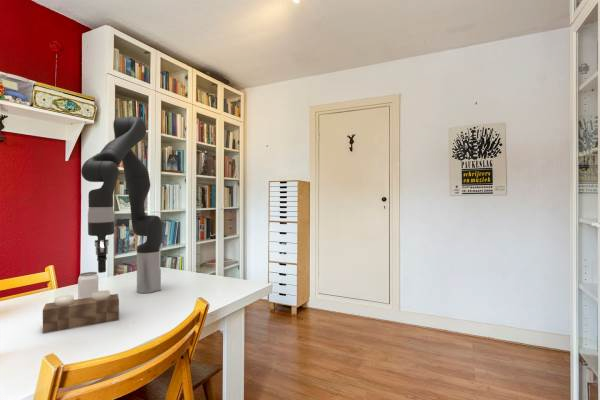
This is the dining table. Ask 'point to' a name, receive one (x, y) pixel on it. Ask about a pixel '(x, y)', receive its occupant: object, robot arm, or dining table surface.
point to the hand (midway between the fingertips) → (102, 272)
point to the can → (87, 284)
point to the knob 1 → (64, 300)
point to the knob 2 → (100, 295)
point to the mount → (80, 313)
